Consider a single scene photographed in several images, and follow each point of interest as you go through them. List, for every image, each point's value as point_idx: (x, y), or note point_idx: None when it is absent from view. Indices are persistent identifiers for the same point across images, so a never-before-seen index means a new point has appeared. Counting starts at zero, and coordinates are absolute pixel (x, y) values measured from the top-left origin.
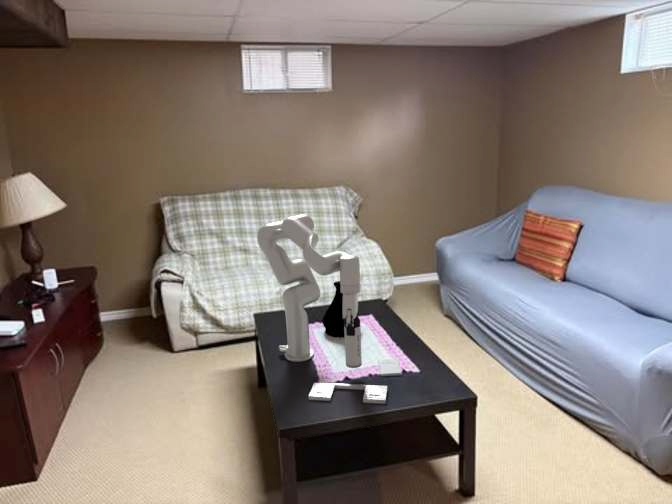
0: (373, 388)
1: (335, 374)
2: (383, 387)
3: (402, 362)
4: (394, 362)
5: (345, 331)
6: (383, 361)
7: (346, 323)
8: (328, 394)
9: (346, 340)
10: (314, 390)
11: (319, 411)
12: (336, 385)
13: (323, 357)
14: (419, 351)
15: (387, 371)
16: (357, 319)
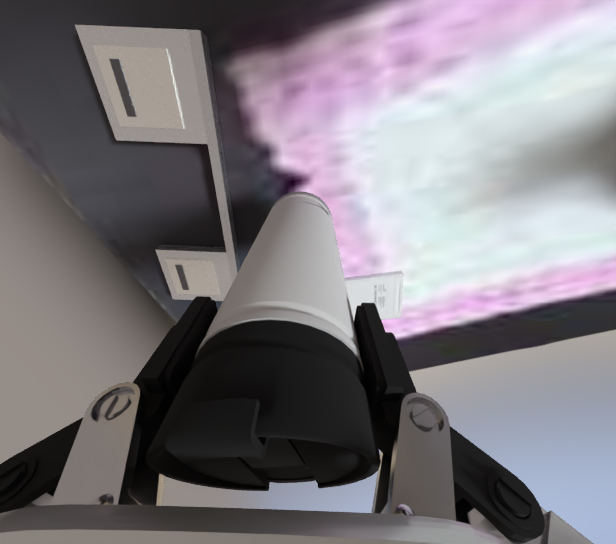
0: (219, 272)
1: (319, 131)
2: None
3: (388, 324)
4: (380, 313)
5: (232, 295)
6: (390, 288)
7: (78, 431)
8: (130, 129)
9: (249, 257)
10: (126, 50)
11: (42, 105)
12: (210, 153)
13: (501, 30)
14: (441, 354)
15: None
16: (298, 470)
